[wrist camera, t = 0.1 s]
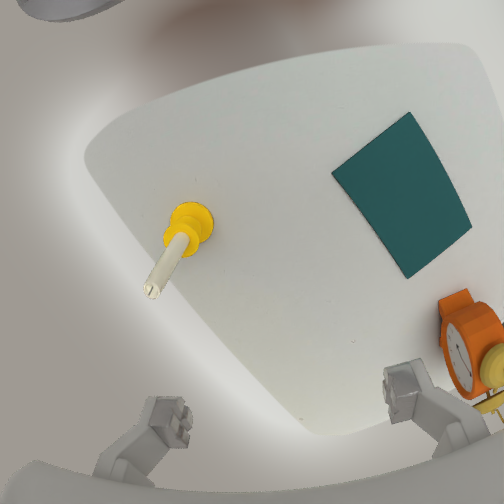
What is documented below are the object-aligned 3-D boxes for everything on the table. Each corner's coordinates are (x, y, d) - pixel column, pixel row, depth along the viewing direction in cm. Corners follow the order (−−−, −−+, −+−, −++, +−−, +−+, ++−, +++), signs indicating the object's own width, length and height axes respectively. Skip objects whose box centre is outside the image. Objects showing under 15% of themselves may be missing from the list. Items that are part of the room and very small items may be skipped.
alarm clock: (434, 293, 40) (499, 395, 22) (468, 279, 39) (540, 369, 21) (436, 352, 45) (479, 445, 27) (465, 339, 44) (514, 425, 26)
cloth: (331, 172, 34) (332, 173, 33) (409, 111, 30) (410, 111, 29) (406, 278, 39) (407, 279, 39) (471, 225, 35) (472, 227, 35)
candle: (163, 214, 37) (106, 281, 23) (199, 193, 35) (155, 253, 21) (186, 249, 39) (145, 329, 25) (222, 231, 37) (195, 309, 23)
